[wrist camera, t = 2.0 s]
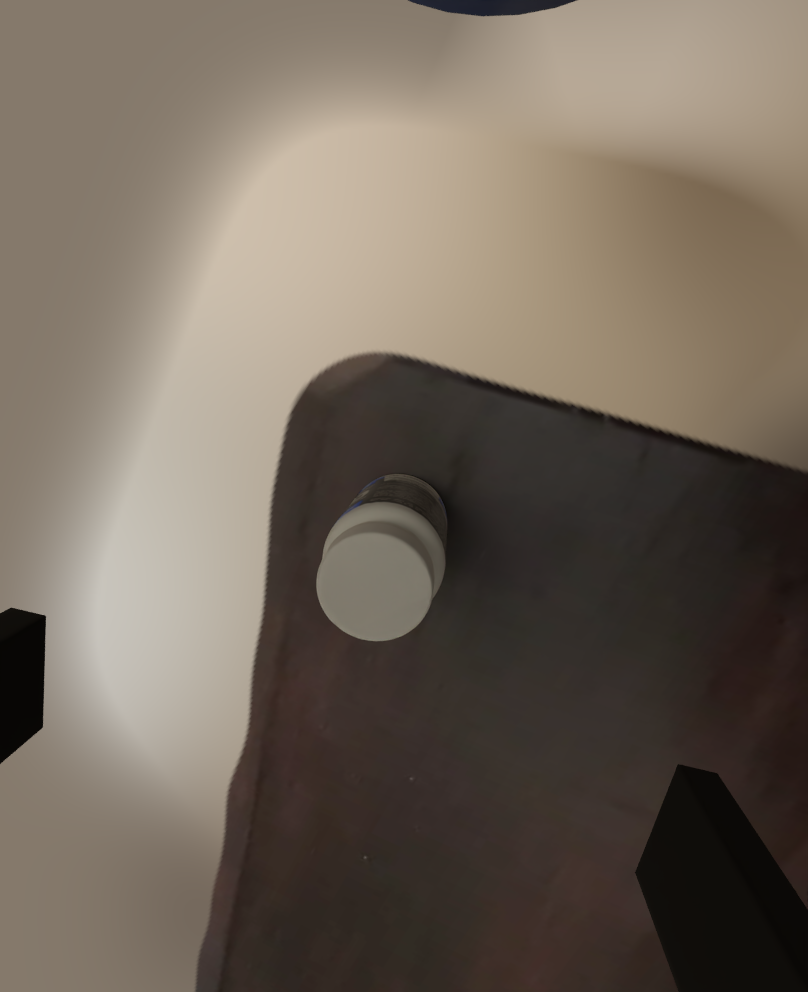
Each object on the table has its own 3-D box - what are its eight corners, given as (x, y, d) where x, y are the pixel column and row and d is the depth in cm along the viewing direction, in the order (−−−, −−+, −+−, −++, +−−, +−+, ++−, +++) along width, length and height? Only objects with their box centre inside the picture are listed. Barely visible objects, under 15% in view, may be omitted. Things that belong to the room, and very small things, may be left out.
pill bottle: (361, 462, 25) (317, 504, 17) (457, 484, 25) (459, 539, 16) (343, 552, 26) (293, 634, 18) (434, 574, 26) (426, 667, 18)
